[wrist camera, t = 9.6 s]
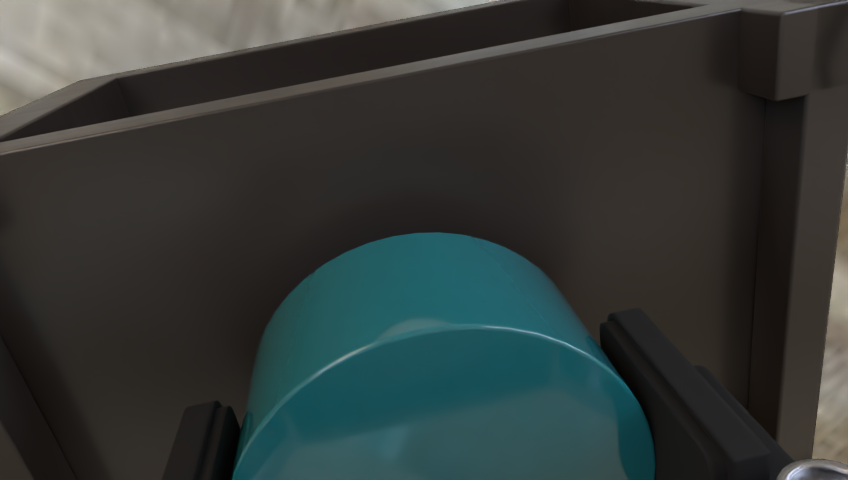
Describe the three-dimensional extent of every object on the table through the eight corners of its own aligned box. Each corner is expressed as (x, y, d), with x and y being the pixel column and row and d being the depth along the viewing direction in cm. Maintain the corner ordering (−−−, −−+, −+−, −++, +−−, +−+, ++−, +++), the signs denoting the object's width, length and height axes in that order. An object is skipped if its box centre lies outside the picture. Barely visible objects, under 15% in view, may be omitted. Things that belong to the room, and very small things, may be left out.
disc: (206, 273, 11) (160, 388, 8) (569, 197, 12) (655, 279, 9) (299, 537, 14) (291, 696, 11) (590, 469, 15) (660, 604, 11)
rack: (78, 80, 21) (-196, 204, 10) (600, -19, 22) (869, -6, 11) (193, 373, 26) (92, 669, 15) (614, 281, 27) (808, 496, 16)
